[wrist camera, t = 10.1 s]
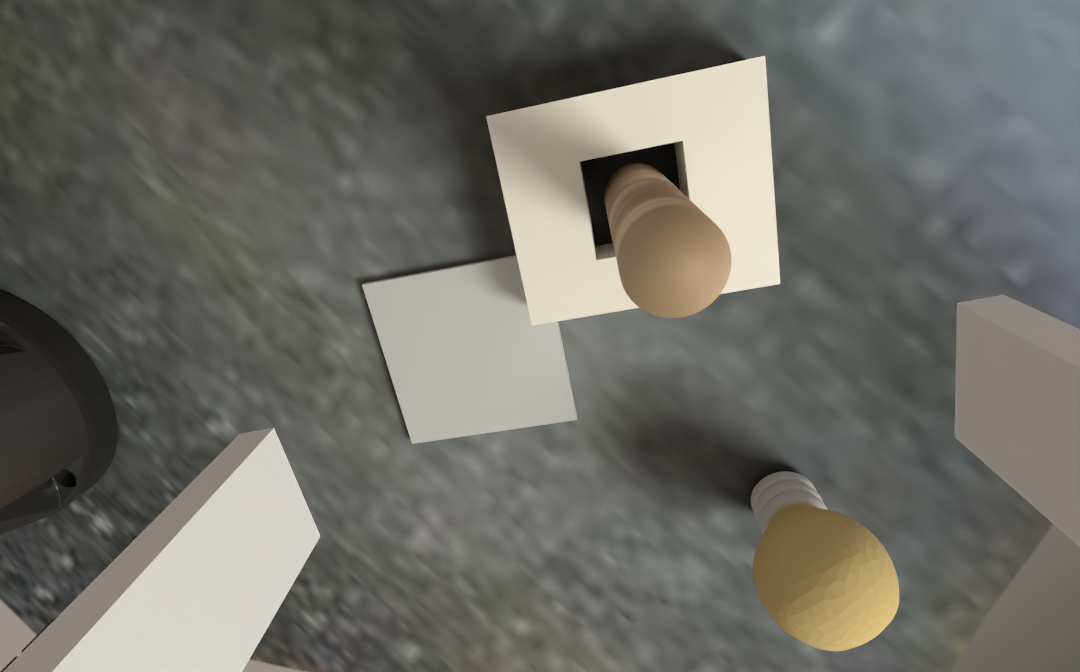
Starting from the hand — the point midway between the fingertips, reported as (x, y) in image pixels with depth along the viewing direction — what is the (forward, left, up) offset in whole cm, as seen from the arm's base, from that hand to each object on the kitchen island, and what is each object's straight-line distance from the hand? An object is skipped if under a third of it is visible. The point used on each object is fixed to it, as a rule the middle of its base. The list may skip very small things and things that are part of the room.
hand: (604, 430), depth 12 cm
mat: (-8, -6, -21) cm, 23 cm away
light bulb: (+8, -18, -21) cm, 29 cm away
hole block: (+2, +1, -21) cm, 21 cm away
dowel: (+2, +1, -21) cm, 21 cm away
